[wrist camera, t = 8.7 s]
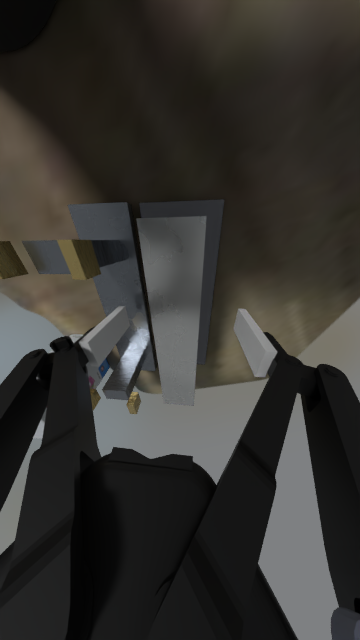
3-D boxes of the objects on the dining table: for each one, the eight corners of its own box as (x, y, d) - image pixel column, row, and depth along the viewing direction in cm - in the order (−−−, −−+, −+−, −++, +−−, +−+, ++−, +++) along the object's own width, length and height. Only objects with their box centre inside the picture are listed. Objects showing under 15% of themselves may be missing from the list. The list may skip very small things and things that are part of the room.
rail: (161, 227, 14) (136, 218, 8) (200, 226, 13) (206, 216, 7) (171, 362, 24) (163, 403, 18) (193, 363, 24) (193, 405, 18)
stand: (74, 206, 14) (-96, 160, 6) (132, 204, 13) (37, 149, 5) (126, 364, 26) (95, 420, 18) (157, 366, 26) (140, 425, 18)
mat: (141, 204, 13) (139, 202, 13) (223, 200, 13) (224, 199, 12) (160, 359, 25) (160, 361, 24) (204, 362, 24) (204, 364, 23)
